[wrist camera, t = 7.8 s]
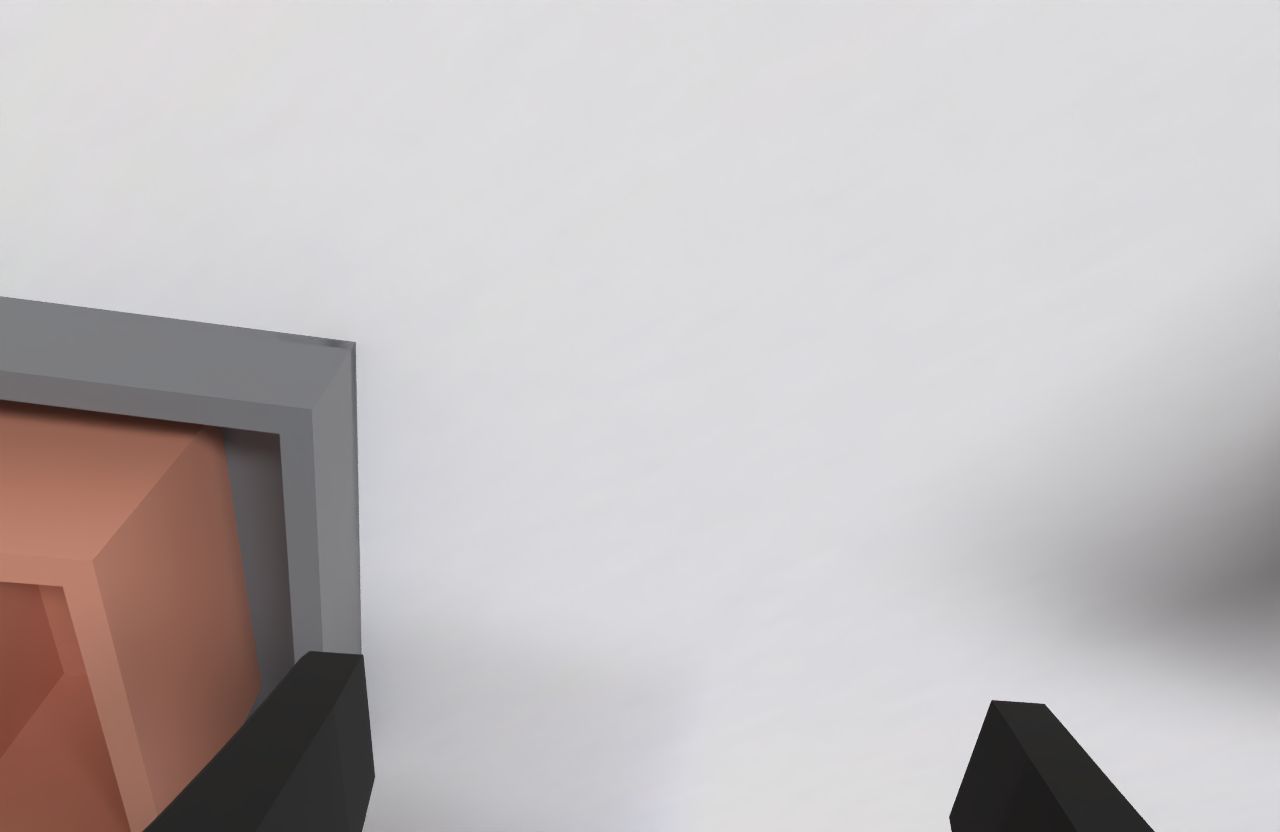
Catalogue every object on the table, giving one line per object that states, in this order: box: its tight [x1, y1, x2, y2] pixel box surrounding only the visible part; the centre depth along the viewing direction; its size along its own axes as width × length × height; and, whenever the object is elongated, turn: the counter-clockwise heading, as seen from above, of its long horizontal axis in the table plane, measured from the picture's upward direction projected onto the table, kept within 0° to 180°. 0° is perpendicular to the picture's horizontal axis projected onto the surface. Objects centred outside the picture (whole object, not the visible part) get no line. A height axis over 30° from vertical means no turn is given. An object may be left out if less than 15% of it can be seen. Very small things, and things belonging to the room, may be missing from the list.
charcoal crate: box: [0, 296, 361, 723], centre depth 21 cm, size 12×10×3 cm
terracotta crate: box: [0, 399, 262, 832], centre depth 19 cm, size 8×5×5 cm, turn 175°
